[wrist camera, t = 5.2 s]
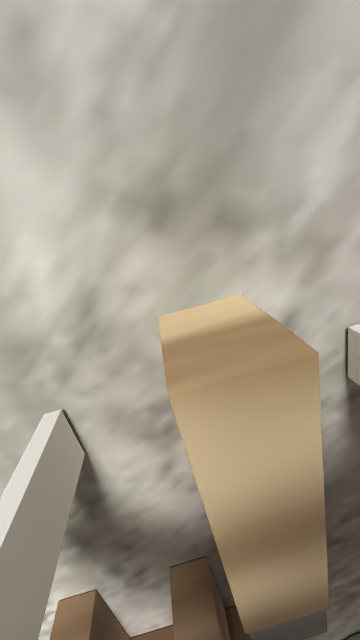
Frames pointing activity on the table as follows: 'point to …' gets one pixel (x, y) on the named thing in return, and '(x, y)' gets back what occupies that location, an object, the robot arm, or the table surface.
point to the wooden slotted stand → (187, 607)
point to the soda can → (354, 637)
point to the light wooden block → (255, 458)
